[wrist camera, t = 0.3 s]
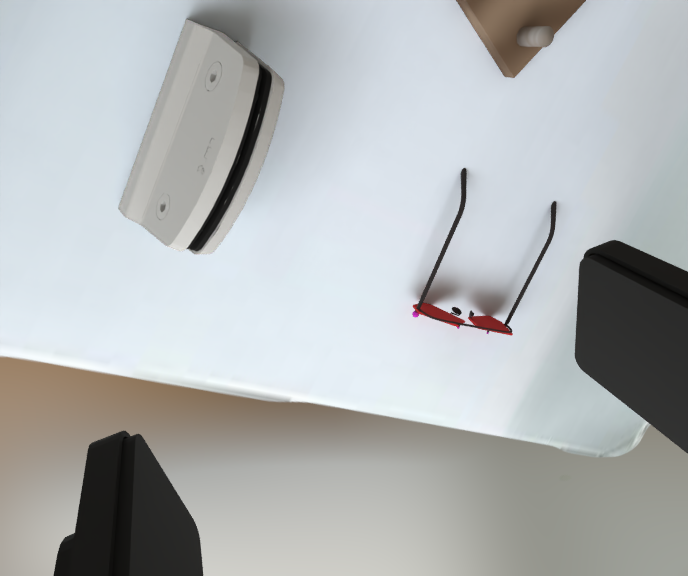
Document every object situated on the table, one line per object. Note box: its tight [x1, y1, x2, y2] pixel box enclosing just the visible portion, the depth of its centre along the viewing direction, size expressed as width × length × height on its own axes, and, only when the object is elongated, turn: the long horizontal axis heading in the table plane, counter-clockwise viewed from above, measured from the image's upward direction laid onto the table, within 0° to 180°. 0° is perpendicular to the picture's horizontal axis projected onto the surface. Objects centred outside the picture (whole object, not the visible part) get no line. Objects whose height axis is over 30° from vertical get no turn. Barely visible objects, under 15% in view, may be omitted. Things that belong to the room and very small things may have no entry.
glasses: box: [412, 168, 556, 335], centre depth 54 cm, size 14×16×5 cm
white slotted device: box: [118, 19, 284, 255], centre depth 37 cm, size 17×5×10 cm, turn 151°
